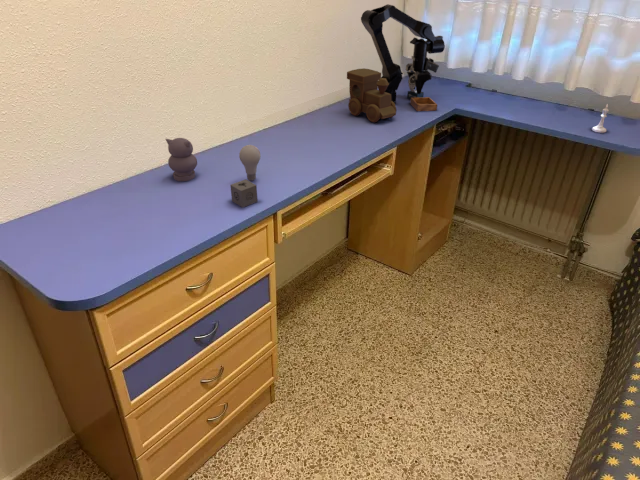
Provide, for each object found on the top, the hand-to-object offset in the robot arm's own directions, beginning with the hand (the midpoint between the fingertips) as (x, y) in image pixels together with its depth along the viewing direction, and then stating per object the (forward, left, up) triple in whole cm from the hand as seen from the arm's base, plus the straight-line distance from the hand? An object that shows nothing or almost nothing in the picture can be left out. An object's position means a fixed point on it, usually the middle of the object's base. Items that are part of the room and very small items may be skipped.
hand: (416, 91), depth 214 cm
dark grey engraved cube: (-75, -90, -4) cm, 117 cm away
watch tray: (0, -12, -3) cm, 12 cm away
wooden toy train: (-25, -22, -4) cm, 34 cm away
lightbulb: (-73, -77, -4) cm, 106 cm away
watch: (0, 0, -4) cm, 4 cm away
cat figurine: (-93, -72, -4) cm, 118 cm away
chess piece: (+58, -47, -4) cm, 75 cm away
